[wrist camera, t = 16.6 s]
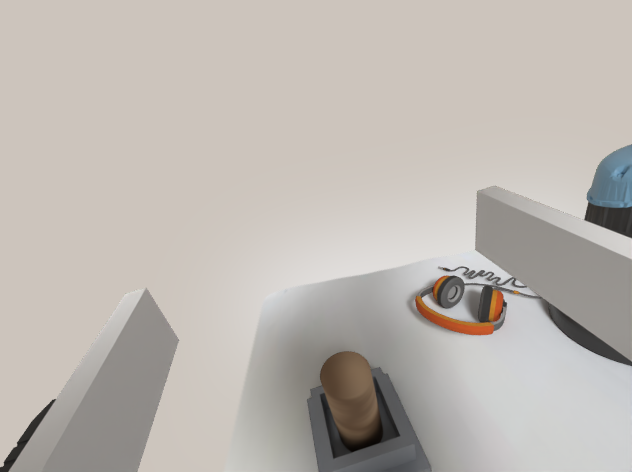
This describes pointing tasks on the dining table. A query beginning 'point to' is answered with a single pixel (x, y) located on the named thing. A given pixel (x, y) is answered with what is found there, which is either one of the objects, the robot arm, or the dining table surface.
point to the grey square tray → (375, 461)
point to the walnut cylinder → (352, 400)
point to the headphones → (451, 293)
